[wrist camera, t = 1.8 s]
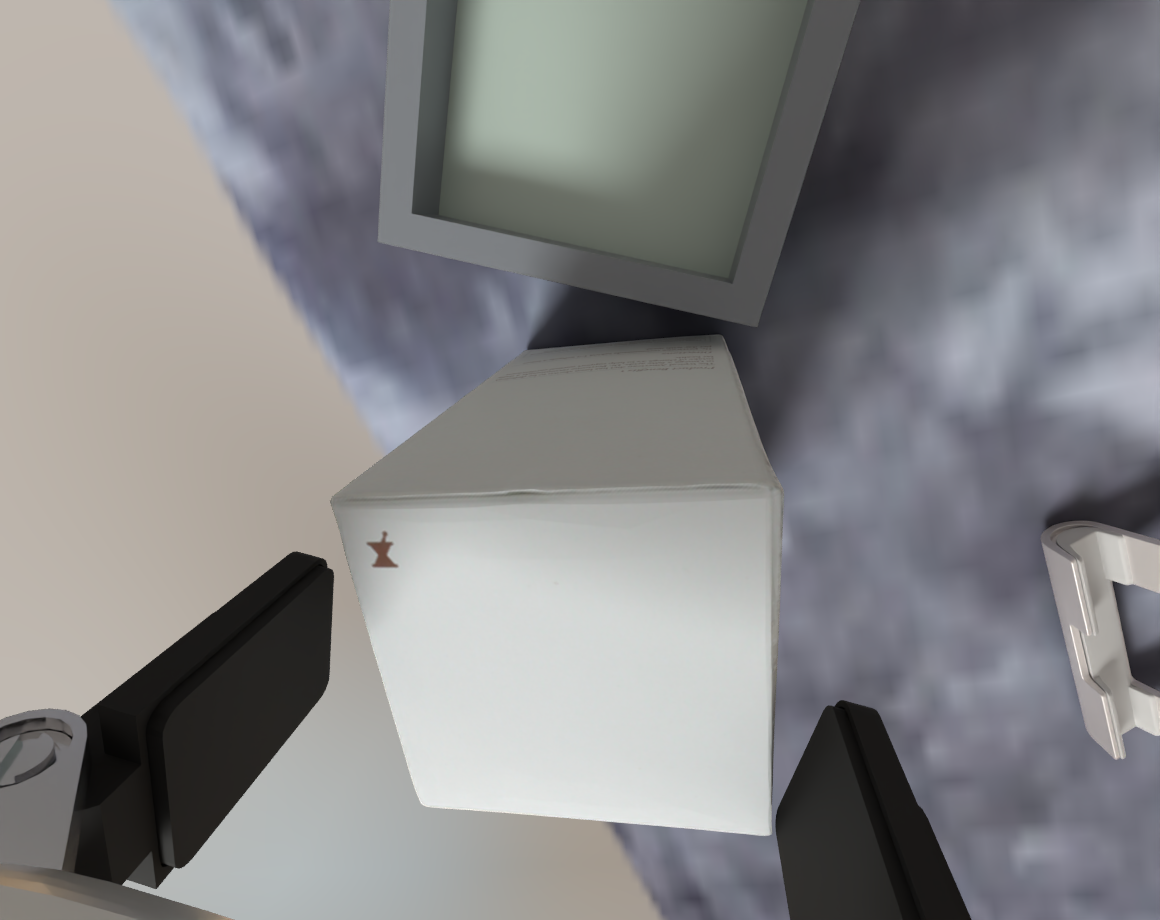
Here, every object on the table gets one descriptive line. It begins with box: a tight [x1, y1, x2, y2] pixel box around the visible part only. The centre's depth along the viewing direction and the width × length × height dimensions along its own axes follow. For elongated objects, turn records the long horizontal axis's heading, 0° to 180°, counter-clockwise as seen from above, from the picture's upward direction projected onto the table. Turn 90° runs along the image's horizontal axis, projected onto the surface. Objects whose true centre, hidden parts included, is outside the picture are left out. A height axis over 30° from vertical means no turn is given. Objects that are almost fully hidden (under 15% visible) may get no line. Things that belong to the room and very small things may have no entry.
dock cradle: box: [378, 0, 860, 327], centre depth 16 cm, size 12×12×3 cm
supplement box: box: [330, 334, 784, 836], centre depth 16 cm, size 7×7×13 cm
